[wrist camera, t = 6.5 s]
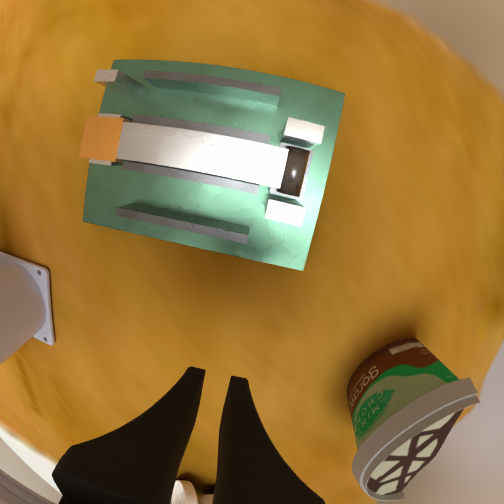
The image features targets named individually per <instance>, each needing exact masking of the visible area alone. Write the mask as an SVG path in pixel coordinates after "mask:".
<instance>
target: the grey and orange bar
mask: <svg viewBox="0 0 504 504" xmlns="http://www.w3.org/2000/svg"><path fill="white" fill-rule="evenodd" d="M309 154H310V151H309V150H306V149H303V148H299V147H295V146H287V147H286V149H285V148H281V147H276V146H272V145H268V144H263V143H258V142H254V141H249V140H244V139H239V138H234V137H229V136H223V135H218V134H212V133H206V132H200V131H194V130H187V129H180V128H173V127H166V126H158V125H149V124H140V123H130V120H128V119H125V118H115V117H100V116H86V120H85V125H84V130H83V135H82V140H81V146H80V151H79V157H80V158H88V159H96V160H104V161H111V162H122V159H124V160H131V161H138V162H145V163H151V164H158V165H164V166H170V167H176V168H181V169H187V170H193V171H198V172H203V173H209V174H214V175H219V176H224V177H229V178H234V179H239V180H243V181H248V182H253V183H257V184H262V185H266V186H271V187H275V188H277V191H276V192H279V193H283V194H287V195H291V196H295V197H300V193H301V189H302V184H303V180H304V176H305V172H306V167H307V163H308V159H309Z"/></svg>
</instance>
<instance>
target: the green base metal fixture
mask: <svg viewBox="0 0 504 504" xmlns="http://www.w3.org/2000/svg"><path fill="white" fill-rule="evenodd" d="M94 82H96V83H99V84H101V85H103V86H105V87H106V89H105V93H104V96H103V100H102V104H101V108H100V113H98V116H100V117H115V118H125V119H128V120H130V123H140V124H149V125H158V126H166V127H173V128H180V129H187V130H194V131H200V132H206V133H212V134H218V135H223V136H229V137H234V138H239V139H244V140H249V141H254V142H258V143H263V144H268V145H272V146H276V147H281V148H285V149H286V147H287V146H295V147H299V148H303V149H306V150H309V151H310V154H309V159H308V163H307V167H306V172H305V176H304V180H303V184H302V189H301V193H300V197H295V196H291V195H287V194H283V193H279V192H276V191H277V188H275V187H271V186H266V185H262V184H257V183H253V182H248V181H243V180H239V179H234V178H229V177H224V176H219V175H214V174H209V173H203V172H198V171H193V170H187V169H181V168H176V167H170V166H164V165H158V164H151V163H145V162H138V161H131V160H124V159H122V162H111V161H104V160H96V159H89V163H90V165H89V171H88V178H87V186H86V194H85V203H84V214H83V222H87V223H91V224H96V225H100V226H104V227H109V228H113V229H118V230H122V231H126V232H131V233H135V234H139V235H144V236H148V237H153V238H157V239H162V240H166V241H170V242H175V243H179V244H184V245H188V246H193V247H197V248H202V249H206V250H211V251H215V252H220V253H224V254H229V255H233V256H238V257H242V258H247V259H251V260H256V261H260V262H265V263H270V264H274V265H279V266H283V267H288V268H293V269H297V270H302V271H303V269H304V265H305V262H306V258H307V254H308V251H309V247H310V243H311V240H312V236H313V232H314V228H315V224H316V220H317V217H318V213H319V209H320V205H321V201H322V197H323V192H324V188H325V184H326V180H327V176H328V171H329V167H330V163H331V158H332V154H333V149H334V145H335V140H336V136H337V131H338V126H339V121H340V117H341V112H342V107H343V102H344V96H345V94H344V93H341V92H338V91H335V90H331V89H328V88H324V87H321V86H317V85H314V84H310V83H306V82H302V81H298V80H294V79H290V78H285V77H281V76H276V75H271V74H266V73H261V72H256V71H250V70H244V69H238V68H232V67H225V66H217V65H209V64H200V63H190V62H178V61H161V60H114V61H113V65H112V68H111V70H97V73H96V76H95V80H94Z"/></svg>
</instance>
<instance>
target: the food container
mask: <svg viewBox="0 0 504 504" xmlns="http://www.w3.org/2000/svg"><path fill="white" fill-rule="evenodd" d="M476 395H477V391H476V389H475V387H474V385H473V383H472V381H471V379H470V378H465V379H460V380H459V379H458V378H457V377H456V376H455V375H454V374H453V373H452V372H451V371H450V370H449V369H448V368H447V367H446V366H445V365H444V364H443V363H442V362H441V361H439V360H438V359H437V358H436V357H435V356H434V355H433V354H432V353H431V352H430V351H429V350H428V349H427V348H426V347H425V346H424V345H422V344H421V343H420V342H419V341H418V340H417V339H404V340H401V341H397V342H394V343H391V344H388V345H386V346H385V347H383V348H381V349H379V350H378V351H376V352H374V353H373V354H371V355H370V356H369V357H368V358H367V359H366V360H365V361H364V362H362V363H361V364H360V365H359V367H358V368H357V369H356V371H355V372H354V374H353V375H352V377H351V379H350V381H349V384H348V388H347V397H348V403H349V407H350V412H351V417H352V422H353V428H354V433H355V438H356V444H357V449H358V451H357V453H356V455H355V457H354V459H353V463H352V472H353V474H354V476H355V478H356V480H357V481H358V483H359V485H360V487H361V488H362V490H363V491H364V492H366V493H367V494H368V495H369V496H370V497H371V498H373V499H375V500H380V501H394V500H401V499H404V494H403V488H404V487H406V485H407V484H408V482H409V481H410V480H411V479H412V478H413V477H414V476H415V475H416V473H417V472H419V471H420V470H421V469H422V468H423V467H424V466H426V465H427V464H428V463H429V462H430V461H431V460H432V459H433V458H434V457H435V456H436V454H437V453H438V451H439V449H440V448H441V446H442V444H443V442H444V441H445V439H446V437H447V435H448V434H449V432H450V430H451V428H452V427H453V425H454V423H455V422H456V420H457V419H458V417H459V416H460V414H461V412H462V411H463V409H464V408H466V407H469V406H472V405H475V404H479V403H480V401H479V399H478V398H477V396H476Z"/></svg>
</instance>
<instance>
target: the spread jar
mask: <svg viewBox="0 0 504 504" xmlns="http://www.w3.org/2000/svg"><path fill="white" fill-rule="evenodd" d="M214 490H215V489H214ZM214 490H210V491H207V492H204V493H203V494H202V495H201V497H200V500H199V504H212V502H213V496H214ZM171 500H172V501H171V502H172V504H198V502H197V496H196V492H195V489H194V486H193V485H192V483H191V482H190V481H184V480H176V481H175V485H174V489H173V493H172V498H171Z"/></svg>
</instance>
